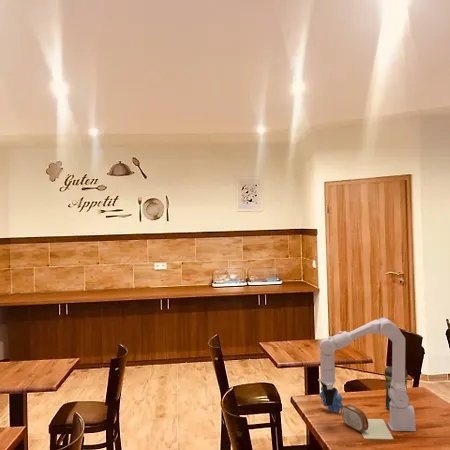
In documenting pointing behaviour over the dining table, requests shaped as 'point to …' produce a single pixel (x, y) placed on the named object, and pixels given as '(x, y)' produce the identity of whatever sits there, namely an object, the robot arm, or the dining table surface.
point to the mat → (377, 430)
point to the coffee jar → (388, 383)
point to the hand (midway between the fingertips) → (328, 401)
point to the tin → (354, 418)
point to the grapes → (336, 401)
